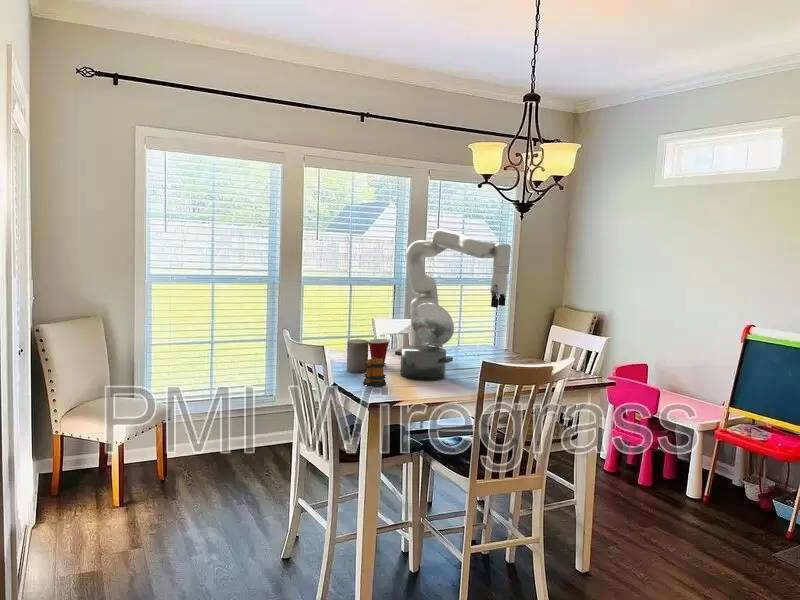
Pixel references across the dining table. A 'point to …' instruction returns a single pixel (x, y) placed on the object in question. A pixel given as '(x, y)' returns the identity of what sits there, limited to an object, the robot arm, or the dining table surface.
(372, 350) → the plastic cup
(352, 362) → the pillar candle
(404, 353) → the pot
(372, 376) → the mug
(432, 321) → the lid
